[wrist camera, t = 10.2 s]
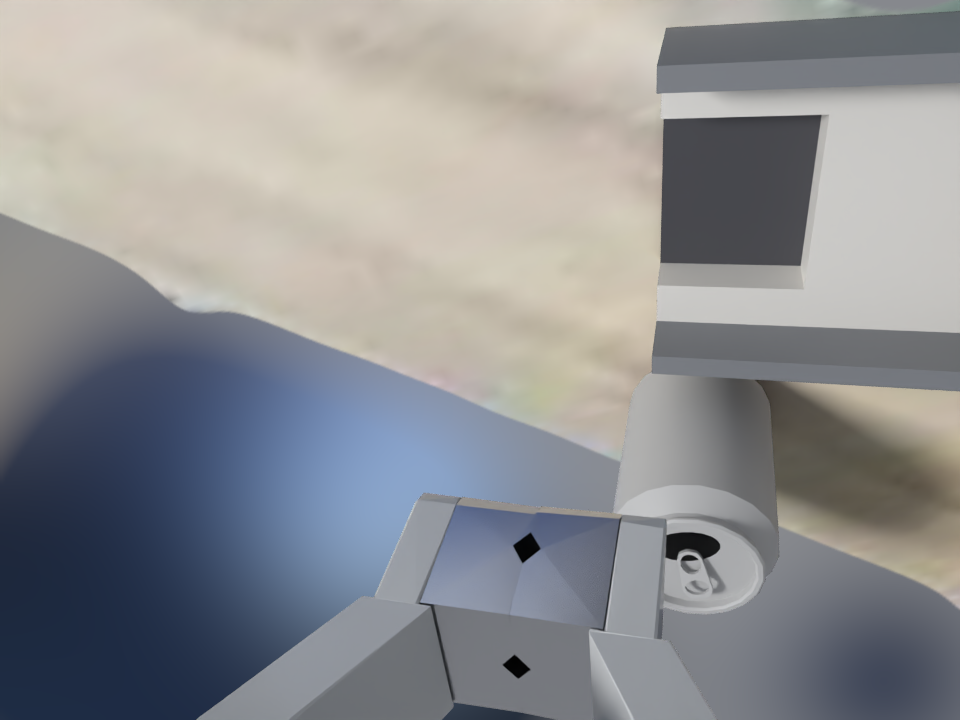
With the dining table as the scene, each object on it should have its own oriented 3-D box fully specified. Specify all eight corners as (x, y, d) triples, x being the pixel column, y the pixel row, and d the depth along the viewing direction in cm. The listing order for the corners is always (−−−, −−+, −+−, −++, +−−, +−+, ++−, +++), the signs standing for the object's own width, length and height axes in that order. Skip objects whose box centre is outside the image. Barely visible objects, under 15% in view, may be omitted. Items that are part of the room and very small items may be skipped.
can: (755, 336, 40) (763, 505, 31) (782, 444, 44) (796, 625, 35) (614, 361, 44) (584, 521, 34) (650, 460, 47) (631, 629, 38)
